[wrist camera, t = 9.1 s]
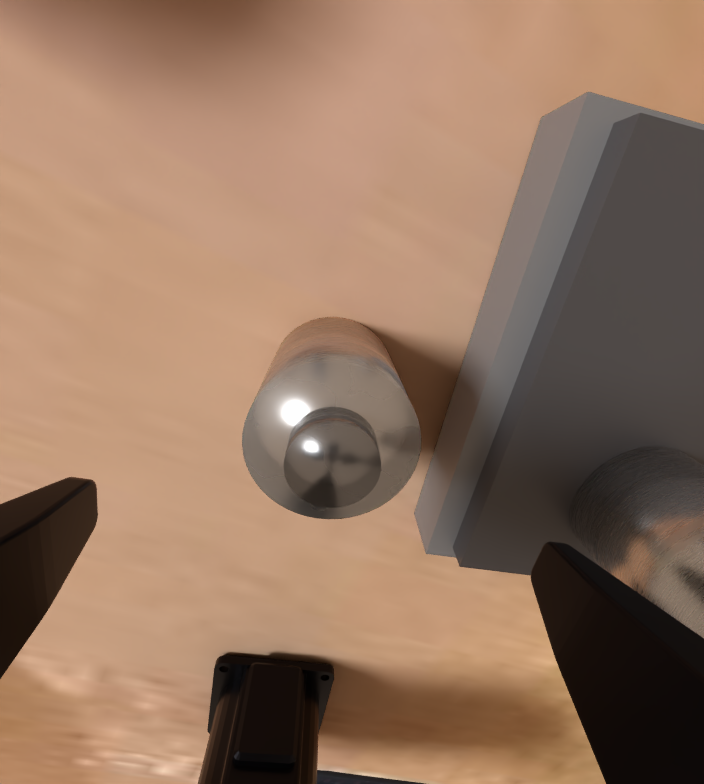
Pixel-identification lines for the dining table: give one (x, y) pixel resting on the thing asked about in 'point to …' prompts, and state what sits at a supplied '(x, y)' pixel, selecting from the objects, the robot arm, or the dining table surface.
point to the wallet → (353, 779)
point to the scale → (576, 334)
